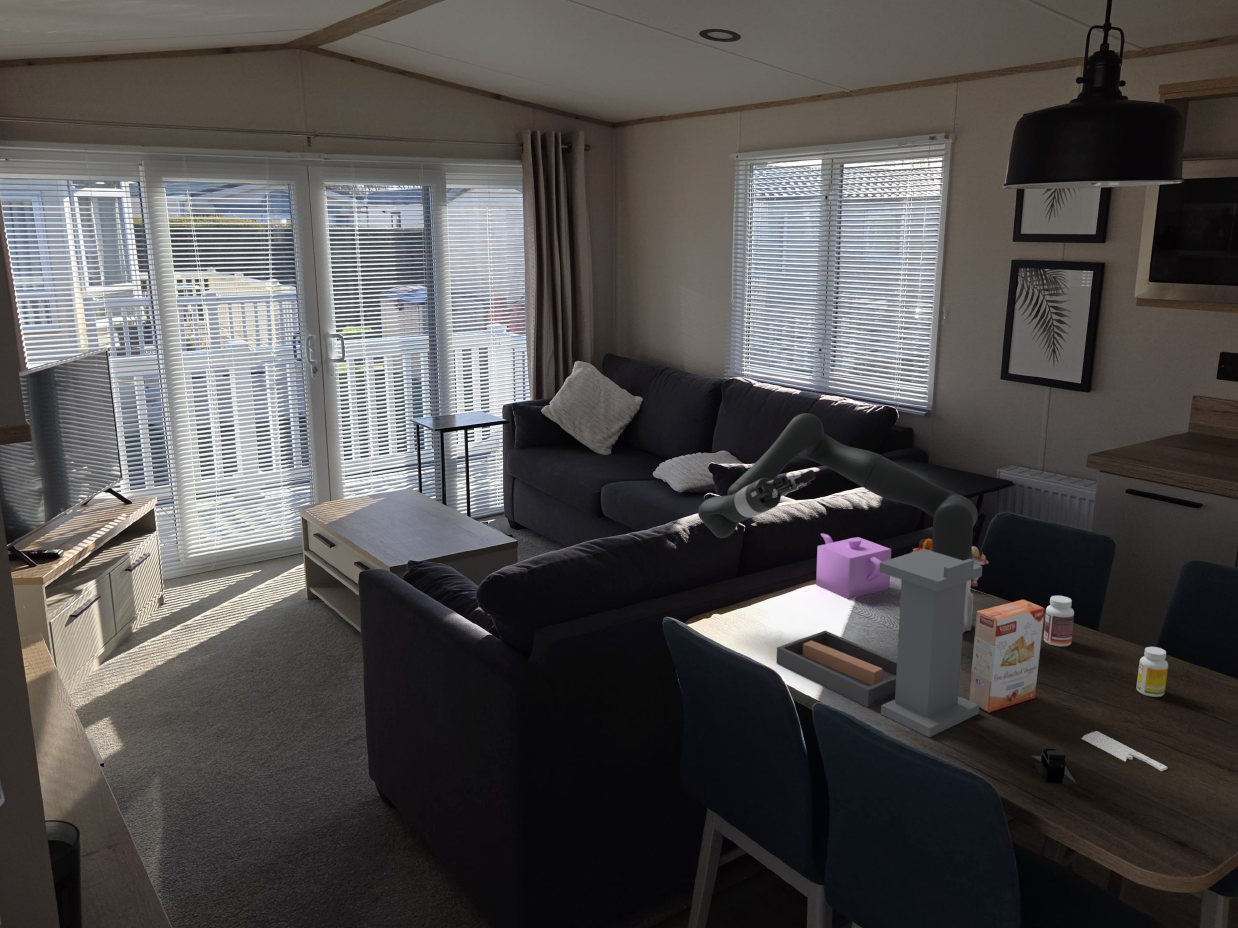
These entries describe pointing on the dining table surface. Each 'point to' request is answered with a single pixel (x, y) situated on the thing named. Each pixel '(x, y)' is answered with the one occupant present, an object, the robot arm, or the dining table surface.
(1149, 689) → the supplement bottle
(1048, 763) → the black knife sharpener
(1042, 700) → the dining table surface
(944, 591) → the stand
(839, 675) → the tray
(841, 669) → the bar
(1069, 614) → the pill bottle
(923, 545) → the doll family
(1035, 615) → the cracker box
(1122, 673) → the dining table surface
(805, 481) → the robot arm
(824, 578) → the teapot
